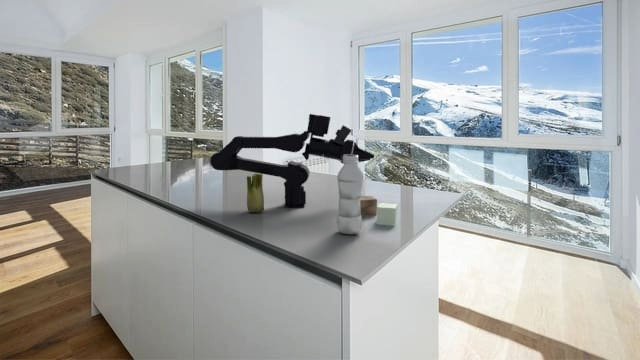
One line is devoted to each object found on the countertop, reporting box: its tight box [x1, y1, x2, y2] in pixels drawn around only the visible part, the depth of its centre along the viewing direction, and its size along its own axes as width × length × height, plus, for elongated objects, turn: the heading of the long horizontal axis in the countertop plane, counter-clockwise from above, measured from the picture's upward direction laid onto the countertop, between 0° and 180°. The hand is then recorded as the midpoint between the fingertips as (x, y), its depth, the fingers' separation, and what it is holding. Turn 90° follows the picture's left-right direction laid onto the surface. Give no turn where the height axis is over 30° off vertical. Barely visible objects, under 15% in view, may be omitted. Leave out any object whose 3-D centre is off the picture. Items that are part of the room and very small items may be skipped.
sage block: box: [376, 202, 398, 227], centre depth 102 cm, size 5×5×5 cm
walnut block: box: [360, 195, 378, 217], centre depth 112 cm, size 5×5×5 cm
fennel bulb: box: [246, 173, 265, 214], centre depth 112 cm, size 6×5×12 cm
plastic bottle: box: [335, 155, 365, 235], centre depth 92 cm, size 6×7×20 cm
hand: (372, 157), depth 118 cm, fingers open, 9 cm apart
